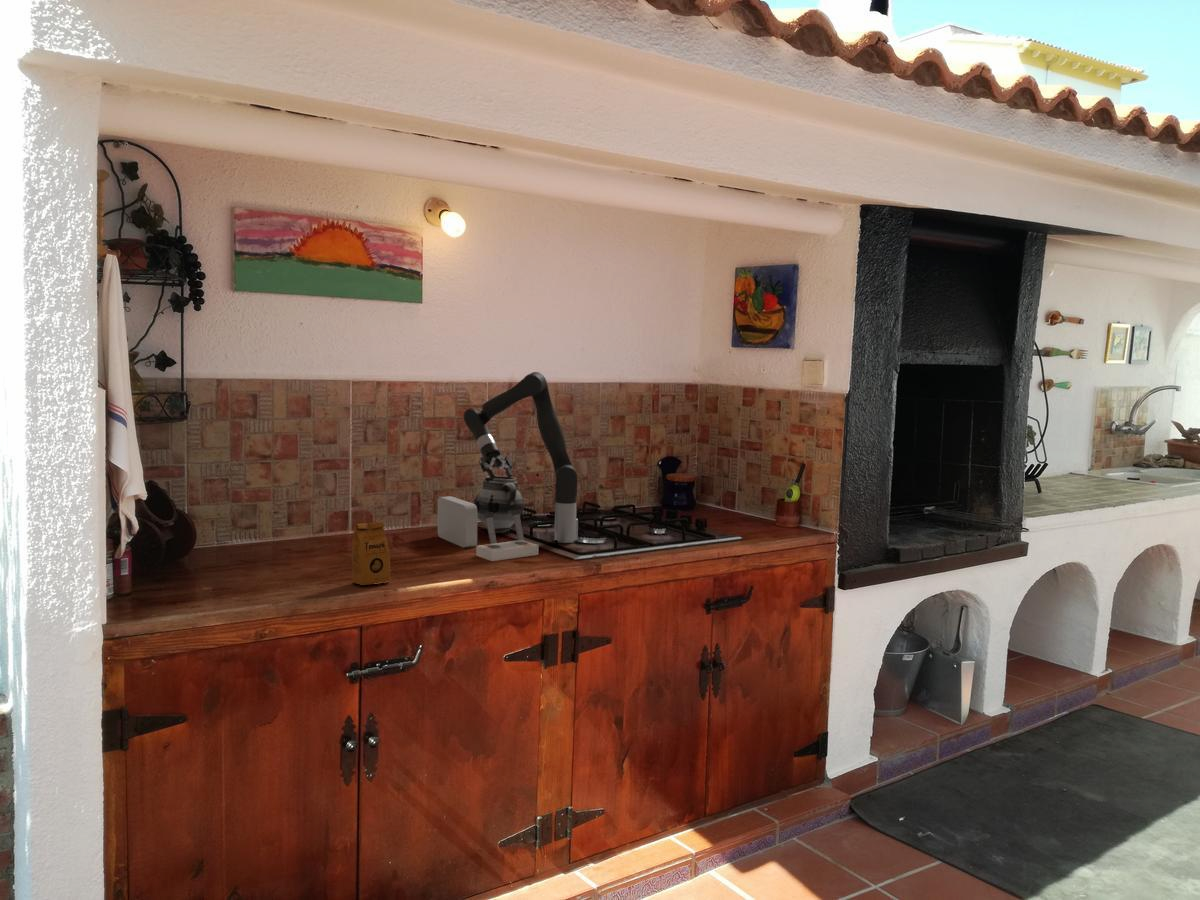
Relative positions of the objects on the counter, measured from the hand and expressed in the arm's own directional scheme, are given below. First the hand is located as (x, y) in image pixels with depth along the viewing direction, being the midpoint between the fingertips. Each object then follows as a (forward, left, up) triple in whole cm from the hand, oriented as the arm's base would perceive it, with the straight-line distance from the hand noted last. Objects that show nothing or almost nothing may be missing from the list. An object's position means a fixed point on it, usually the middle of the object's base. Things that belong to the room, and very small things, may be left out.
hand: (502, 477), depth 405 cm
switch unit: (+8, +17, -29) cm, 35 cm away
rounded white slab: (+12, -17, -29) cm, 36 cm away
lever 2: (+1, +17, -24) cm, 30 cm away
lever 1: (+14, +17, -24) cm, 33 cm away
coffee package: (+73, +30, -29) cm, 84 cm away
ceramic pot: (-16, -28, -29) cm, 43 cm away
